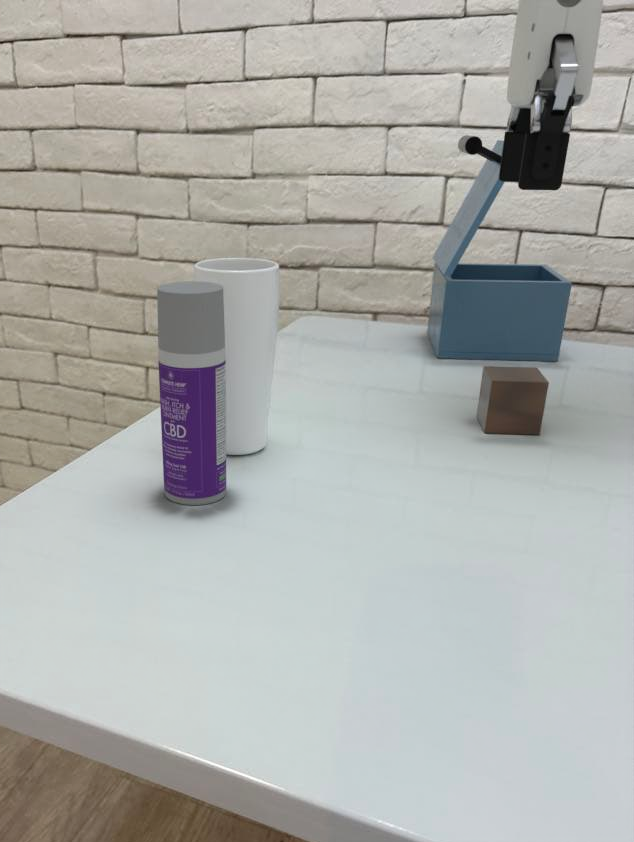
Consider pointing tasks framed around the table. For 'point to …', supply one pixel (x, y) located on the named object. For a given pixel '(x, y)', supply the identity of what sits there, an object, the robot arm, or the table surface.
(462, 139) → the lid
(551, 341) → the blue storage box
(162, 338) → the container
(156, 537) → the table surface
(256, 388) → the drinking glass
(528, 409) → the block
